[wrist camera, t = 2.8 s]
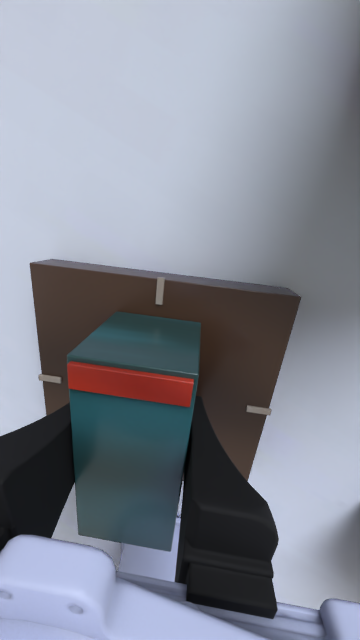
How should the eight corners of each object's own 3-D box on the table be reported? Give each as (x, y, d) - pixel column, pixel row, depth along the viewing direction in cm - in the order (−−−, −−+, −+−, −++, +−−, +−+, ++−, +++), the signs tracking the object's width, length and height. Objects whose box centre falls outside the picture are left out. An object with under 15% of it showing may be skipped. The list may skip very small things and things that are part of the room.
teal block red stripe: (180, 460, 16) (170, 559, 11) (114, 448, 16) (75, 541, 11) (201, 322, 13) (198, 378, 8) (116, 310, 13) (62, 358, 8)
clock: (241, 466, 18) (246, 494, 16) (64, 437, 19) (48, 461, 17) (290, 286, 14) (305, 295, 12) (50, 257, 14) (24, 260, 12)
